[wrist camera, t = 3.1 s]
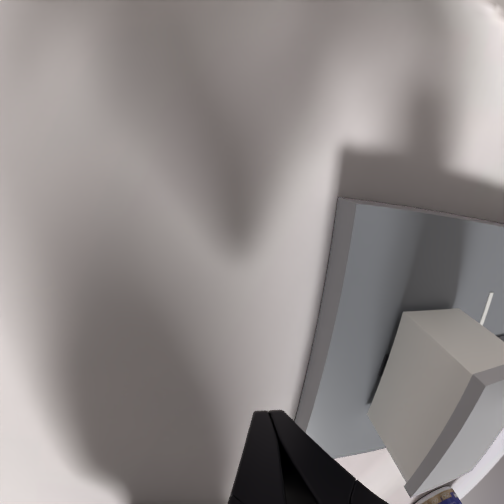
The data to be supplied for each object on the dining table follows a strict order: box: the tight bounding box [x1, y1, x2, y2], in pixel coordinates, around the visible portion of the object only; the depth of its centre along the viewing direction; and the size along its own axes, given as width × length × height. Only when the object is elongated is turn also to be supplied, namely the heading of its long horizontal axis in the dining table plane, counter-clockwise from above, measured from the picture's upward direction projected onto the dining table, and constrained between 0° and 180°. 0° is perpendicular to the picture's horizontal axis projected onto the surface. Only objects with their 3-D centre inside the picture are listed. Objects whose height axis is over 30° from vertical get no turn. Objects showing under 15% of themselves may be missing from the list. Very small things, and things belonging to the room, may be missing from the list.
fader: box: [367, 308, 504, 498], centre depth 9 cm, size 3×5×5 cm, turn 174°
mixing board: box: [295, 197, 504, 459], centre depth 13 cm, size 22×12×2 cm, turn 84°
